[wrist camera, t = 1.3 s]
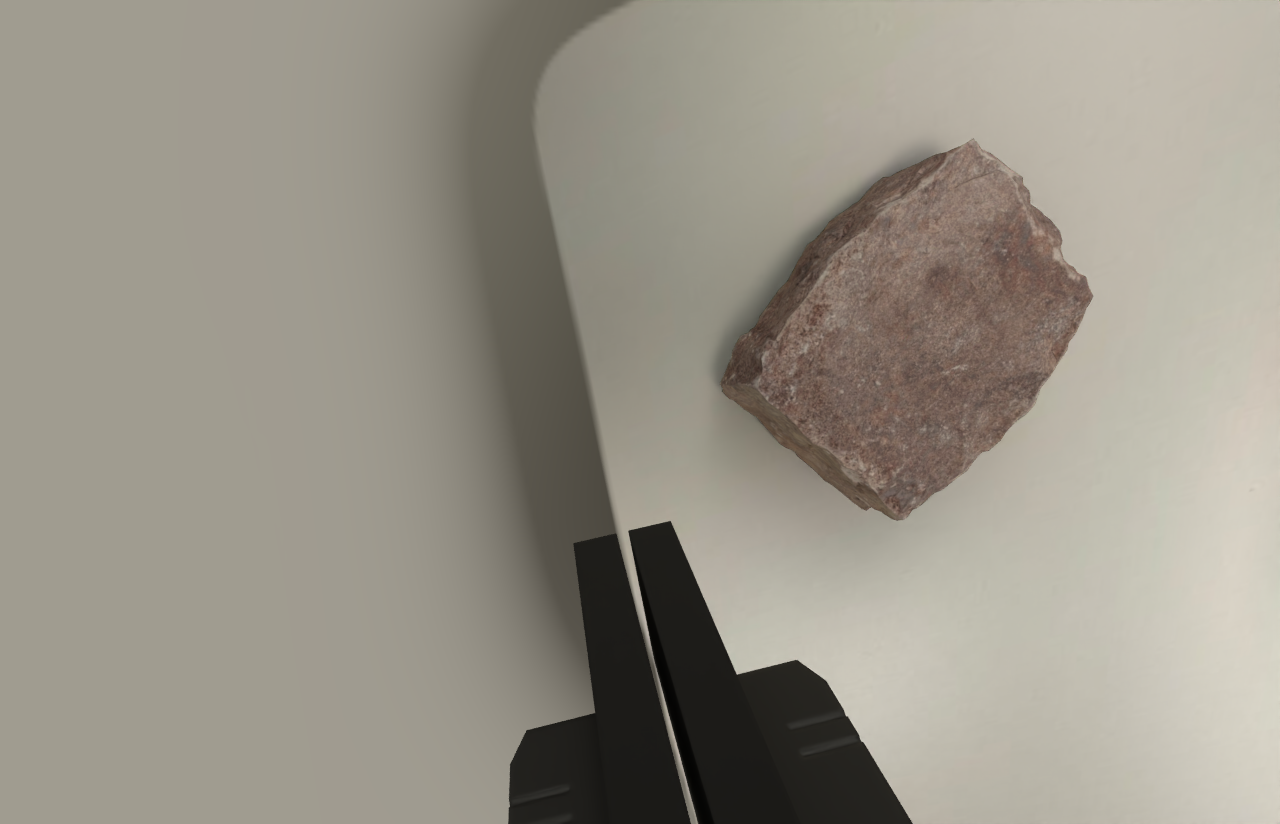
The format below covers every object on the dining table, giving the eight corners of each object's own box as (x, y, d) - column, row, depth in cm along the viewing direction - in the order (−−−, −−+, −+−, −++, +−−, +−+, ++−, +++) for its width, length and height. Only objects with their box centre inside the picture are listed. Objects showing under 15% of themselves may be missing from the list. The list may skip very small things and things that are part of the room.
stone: (916, 112, 25) (1003, 96, 21) (1052, 282, 28) (1154, 300, 23) (689, 361, 26) (725, 396, 22) (842, 498, 29) (900, 554, 25)
